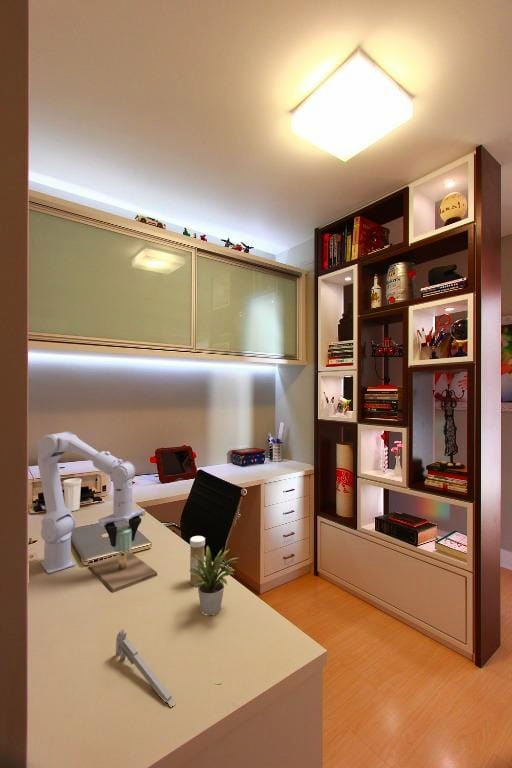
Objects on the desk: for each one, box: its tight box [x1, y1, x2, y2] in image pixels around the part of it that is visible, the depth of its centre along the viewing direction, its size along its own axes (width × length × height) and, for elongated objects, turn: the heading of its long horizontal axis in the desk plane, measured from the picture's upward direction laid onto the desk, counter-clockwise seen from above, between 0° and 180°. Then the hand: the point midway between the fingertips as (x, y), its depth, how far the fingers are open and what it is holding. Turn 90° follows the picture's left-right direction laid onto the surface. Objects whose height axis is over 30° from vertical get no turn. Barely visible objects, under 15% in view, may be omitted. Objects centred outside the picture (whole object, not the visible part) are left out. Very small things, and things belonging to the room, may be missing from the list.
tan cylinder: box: [118, 552, 126, 570], centre depth 118 cm, size 2×2×5 cm
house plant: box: [189, 545, 240, 616], centre depth 96 cm, size 14×14×16 cm
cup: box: [62, 477, 83, 512], centre depth 176 cm, size 8×8×14 cm
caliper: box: [115, 628, 175, 706], centre depth 75 cm, size 20×1×6 cm, turn 49°
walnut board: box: [88, 551, 158, 593], centre depth 118 cm, size 20×14×1 cm
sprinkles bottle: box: [189, 535, 206, 587], centre depth 112 cm, size 5×5×14 cm
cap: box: [112, 525, 133, 553], centre depth 118 cm, size 6×6×6 cm
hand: (122, 542), depth 118 cm, fingers closed on cap, 6 cm apart
